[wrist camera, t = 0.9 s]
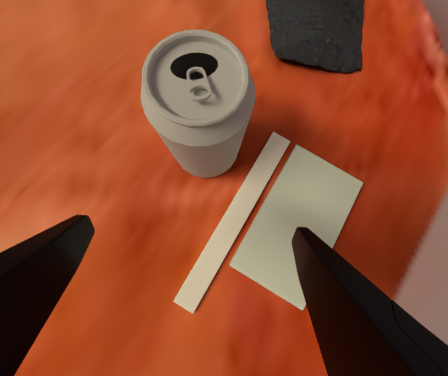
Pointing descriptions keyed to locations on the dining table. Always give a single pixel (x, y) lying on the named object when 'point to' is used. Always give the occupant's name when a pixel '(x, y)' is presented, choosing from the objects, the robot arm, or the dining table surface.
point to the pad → (295, 221)
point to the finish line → (231, 224)
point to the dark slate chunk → (318, 32)
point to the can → (198, 99)
